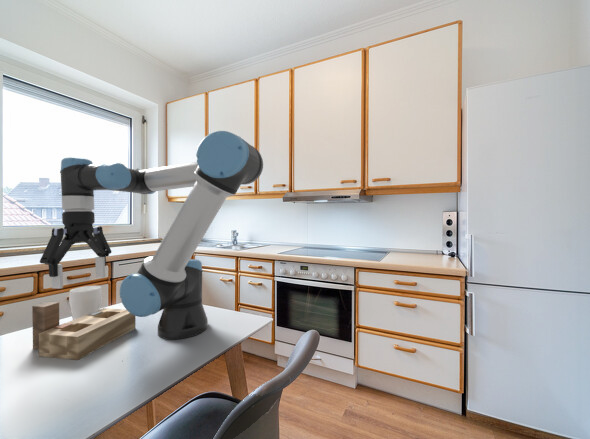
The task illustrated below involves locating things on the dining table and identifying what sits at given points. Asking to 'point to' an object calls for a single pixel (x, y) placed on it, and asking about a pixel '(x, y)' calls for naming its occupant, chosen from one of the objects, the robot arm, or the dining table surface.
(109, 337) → the box
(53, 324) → the plug
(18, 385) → the dining table surface
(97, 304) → the cup
